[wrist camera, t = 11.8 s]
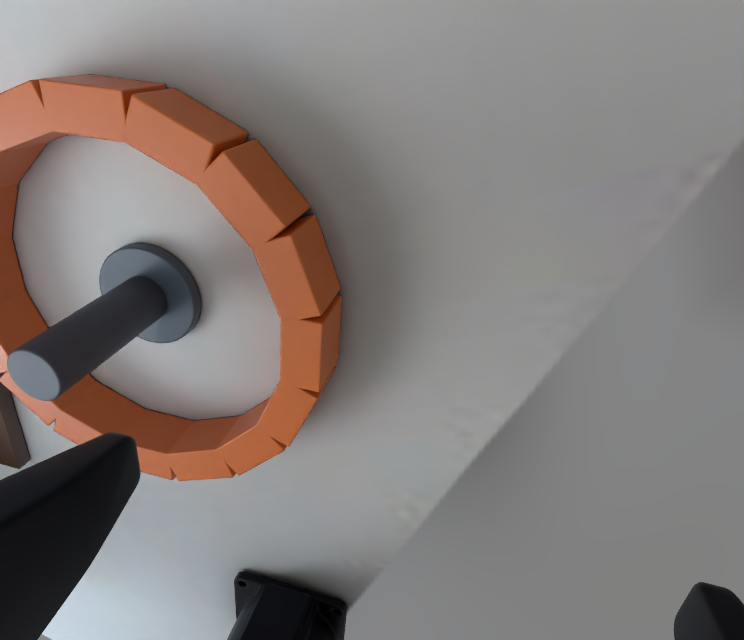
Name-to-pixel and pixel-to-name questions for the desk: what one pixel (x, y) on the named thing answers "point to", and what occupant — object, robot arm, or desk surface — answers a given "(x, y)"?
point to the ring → (241, 209)
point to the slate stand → (110, 321)
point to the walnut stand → (11, 433)
